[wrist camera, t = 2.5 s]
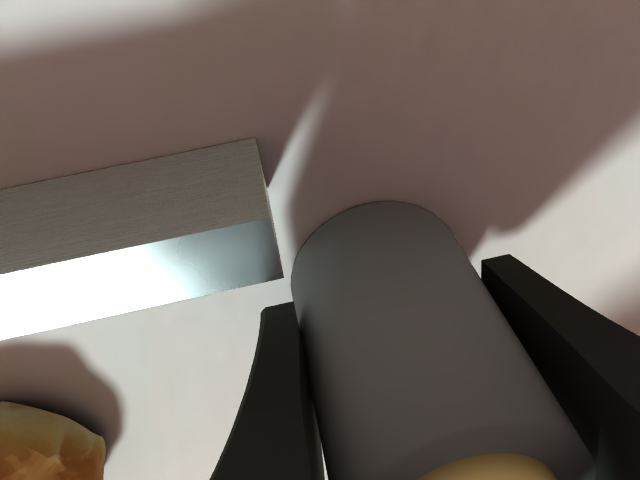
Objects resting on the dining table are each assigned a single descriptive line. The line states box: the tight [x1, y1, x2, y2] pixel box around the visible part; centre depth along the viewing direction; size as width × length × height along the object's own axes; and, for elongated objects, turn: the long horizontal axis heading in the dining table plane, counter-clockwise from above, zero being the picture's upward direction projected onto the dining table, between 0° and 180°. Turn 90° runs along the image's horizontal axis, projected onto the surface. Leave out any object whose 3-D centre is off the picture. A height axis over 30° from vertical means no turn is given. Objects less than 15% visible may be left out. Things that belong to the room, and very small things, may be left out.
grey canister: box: [291, 201, 596, 480], centre depth 11 cm, size 4×4×7 cm
